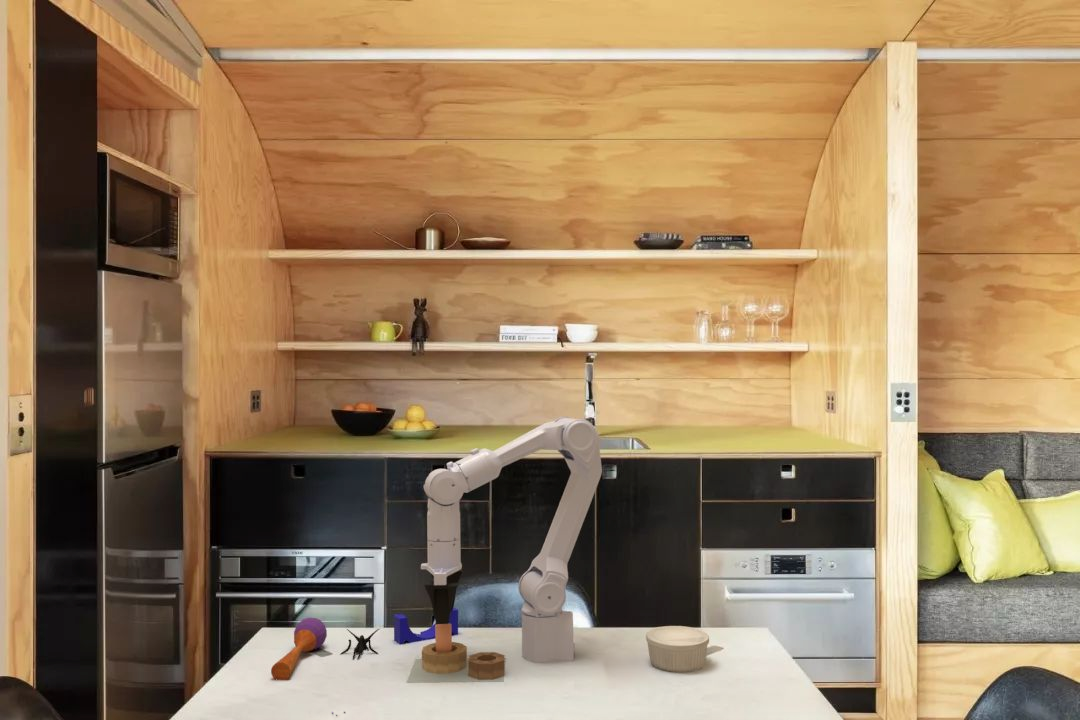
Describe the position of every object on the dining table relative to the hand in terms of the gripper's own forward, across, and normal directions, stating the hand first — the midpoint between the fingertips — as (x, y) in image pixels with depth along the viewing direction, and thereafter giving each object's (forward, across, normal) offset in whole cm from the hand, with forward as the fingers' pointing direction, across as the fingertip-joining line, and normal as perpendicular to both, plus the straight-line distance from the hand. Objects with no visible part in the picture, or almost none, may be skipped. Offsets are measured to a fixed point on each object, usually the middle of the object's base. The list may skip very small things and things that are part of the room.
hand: (444, 617), depth 152 cm
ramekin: (+10, -3, +41) cm, 42 cm away
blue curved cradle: (+10, -17, -6) cm, 21 cm away
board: (+9, +2, +2) cm, 10 cm away
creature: (+10, -7, -16) cm, 20 cm away
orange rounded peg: (+8, 0, 0) cm, 8 cm away
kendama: (+10, -7, -27) cm, 29 cm away
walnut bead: (+8, +4, +7) cm, 12 cm away
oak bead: (+8, 0, 0) cm, 8 cm away
